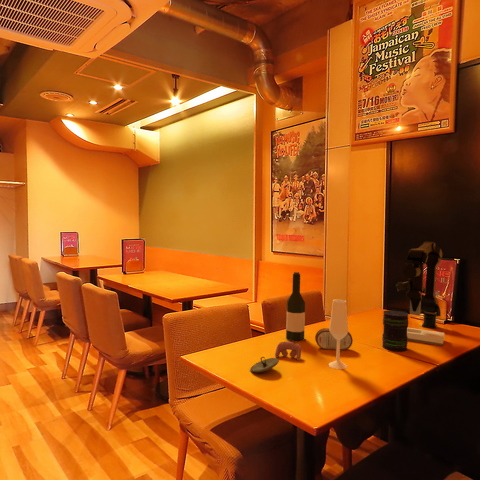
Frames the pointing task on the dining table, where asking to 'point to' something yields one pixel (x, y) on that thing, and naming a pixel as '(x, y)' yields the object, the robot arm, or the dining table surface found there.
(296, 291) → the wine bottle
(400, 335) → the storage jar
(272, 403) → the dining table surface
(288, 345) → the video game controller
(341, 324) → the champagne flute
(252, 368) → the lid
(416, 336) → the cream socket panel
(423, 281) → the robot arm
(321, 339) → the tin
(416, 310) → the plug
